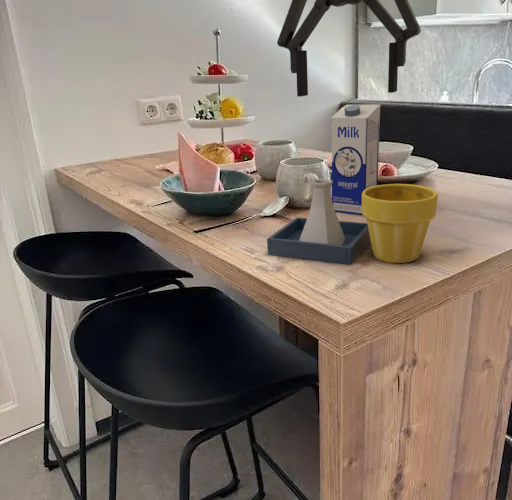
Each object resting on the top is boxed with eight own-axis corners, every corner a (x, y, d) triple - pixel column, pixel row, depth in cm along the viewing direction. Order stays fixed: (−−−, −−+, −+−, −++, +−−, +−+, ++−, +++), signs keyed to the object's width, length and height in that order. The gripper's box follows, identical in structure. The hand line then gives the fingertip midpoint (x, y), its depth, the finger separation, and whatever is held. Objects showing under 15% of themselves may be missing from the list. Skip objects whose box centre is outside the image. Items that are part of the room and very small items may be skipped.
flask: (330, 253, 75) (330, 188, 72) (290, 245, 79) (288, 183, 76) (353, 240, 80) (354, 178, 77) (314, 233, 84) (314, 174, 81)
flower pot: (401, 274, 68) (404, 204, 64) (346, 255, 76) (346, 191, 72) (447, 256, 73) (453, 190, 70) (391, 239, 81) (394, 180, 78)
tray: (371, 238, 82) (371, 223, 81) (350, 264, 72) (350, 247, 71) (296, 231, 88) (296, 217, 87) (267, 254, 78) (266, 238, 77)
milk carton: (377, 206, 100) (381, 103, 93) (364, 215, 95) (367, 106, 88) (345, 203, 104) (346, 103, 97) (330, 211, 99) (330, 106, 92)
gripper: (447, -83, 65) (437, 88, 72) (271, -52, 75) (278, 95, 82) (440, -98, 58) (430, 91, 66) (249, -61, 69) (259, 99, 76)
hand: (345, 94), depth 74 cm, fingers open, 13 cm apart
